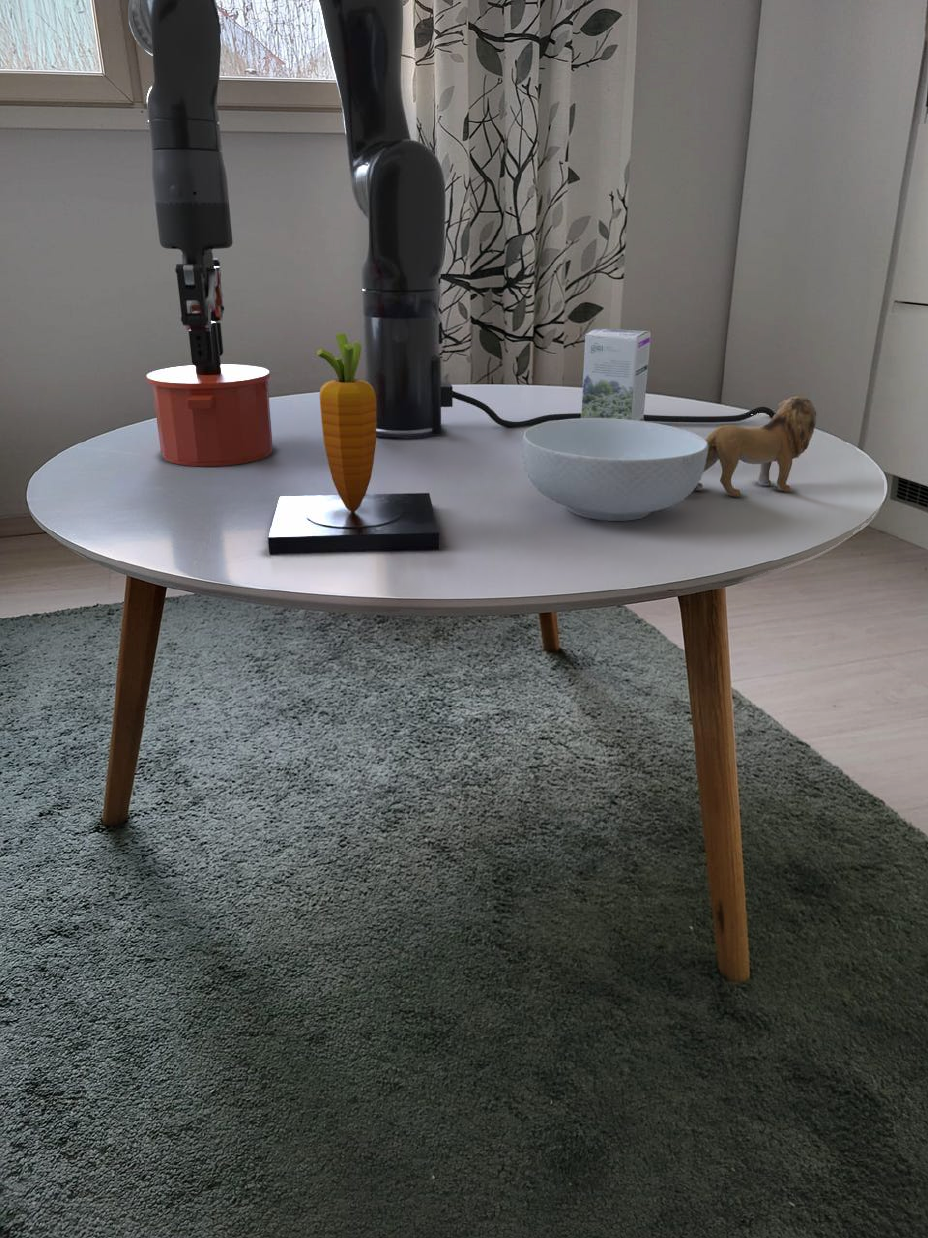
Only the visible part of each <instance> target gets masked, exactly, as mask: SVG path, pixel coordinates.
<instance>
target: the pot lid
mask: <svg viewBox="0 0 928 1238" xmlns="http://www.w3.org/2000/svg"><path fill="white" fill-rule="evenodd" d="M211 323H212V326H211V339H212V349H213V358H214V363H213V364H212V365H211V366H201V367H197V366H194V365H193V364H192V365H183V366H175V367H174V366H173V367H167V368H162V369H157V370H153V371H152V372H149V373H147V374H146V382H147V383H148V384H149V385H155V386H159V387H166V388H178V389H214V388H229V387H238V386H246V385H251V384H256V383H260V382H263V381H266V380H268V381H269V379H270V378H271V373H270V370H268V369H267V368H265V367H261V366H256V365H247V364H227V363H226V364H223V363H221V356H220V351H219V341H218V331H217V322H215V321H211Z"/></svg>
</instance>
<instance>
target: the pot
mask: <svg viewBox="0 0 928 1238" xmlns="http://www.w3.org/2000/svg"><path fill="white" fill-rule="evenodd" d="M268 381H269V379H268V380H266V381H263V382H260V383H256V384H251V385H246V386H238V387H229V388H214V389H178V388H166V387H159V386H155V385H152V394H153V401H154V410H155V418H156V425H157V433H158V440H159V448H160V453H161V456H162V459H163V460H164V461H166V462H168V463H172V464H175V465H180V466H188V467H224V466H233V465H241V464H247V463H253V462H256V461H259V460H262V459H265V458H267V457H269V456H270V455H271V454H272V453H273V434H272V433H273V431H272V420H271V408H270V407H271V406H270V394H269V382H268Z"/></svg>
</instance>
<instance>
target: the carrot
mask: <svg viewBox="0 0 928 1238" xmlns="http://www.w3.org/2000/svg"><path fill="white" fill-rule="evenodd" d="M335 338H336V342H337V345H338V349H339V350H340V354H341V357H342V358H341V357H339V356H337V357H335V356H334V355H333V354H332V353H331V352H330V351H327V350H326V349H324V348H321V349H319V350H317V353H316V354H317V356H318V357H320V358H322V359H323V360H324V361H325V360H326V362H327V363H328V364H329V365H330V366H331V367H332V368H333V370H334V372H335V373H336V375H337V379H334V380H329V381H326V382H324V383H323V384H322V386H321V387H320V388H319V409H320V417H321V418H320V420H321V429H322V430H321V431H322V436H323V437H322V438H323V446H324V449H325V454H326V459H327V464H328V467H329V471H330V475H331V479H332V482H333V484H334V487H335V490H336V492H337V495H339V496H340V498H341V499H342V501H343V503H344V505H345V507H346V508H347V509H348V510H349V511H350V512H352V513H354V512H355V511H356V510H357V509H358V508H359V507H360V505H361V502H362V500H363V498H364V496H365V494H367V491H368V488H369V485H370V482H371V479H372V474H373V468H374V463H375V455H376V447H377V435H376V394H375V391H374V389H373V387H372V386H371V385H370V384H369V383H368V382H366V380H364V379H359V378H355V375H356V372H357V369H358V366H359V362H360V359H361V352H362V344H360V343H359V341H354V342H353V346H352V345H351V344H350V342H349V340H348V337H347V335H346V333H337V334H336V335H335Z"/></svg>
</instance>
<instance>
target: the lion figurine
mask: <svg viewBox="0 0 928 1238" xmlns="http://www.w3.org/2000/svg"><path fill="white" fill-rule="evenodd" d="M817 415H818V413H817V411H816V408H815V406H814V404H813V402H812V401H811V400H810V399H809V398H806V397H805V396H790V397H789V398H788V399H784V400H783V401H781V402H780V403H779V404H778V410H777V412H776V413H775V415H774V416H773V417H772V418H771V419H770V420H769V422H768V423H766V424H765V425H763V426H761V427H743V426H738V425H733V424H728V425H727V424H725V425H722V426H719V427H717V428H716V429H714V430H713V431H712V432H711V433H710V434H709V435H708V436H707V438H706V439H705V440H706V441H707V443H708V454H707V458H706V464H705V467H704V471H703V473H705V472H706V471H707V470H709V469H710V468H712V466H714V465H715V464H717V462H718V461H719V463H720V467H721V476H720V479H719V482H720V483H721V485H722V487H723V488H724V490H725V492H726V494H727V495H728V496H729V497H734V498H735V497H740V496H741V495H742V492H741V491H740V489H738V488H735V487H733V484H732V477H733V475H734V473H735V471H736V469H737V467H738V464H739V462H740V461H741V462H743V463H745V464H750V465H760V468H759V469H760V470H759V475H758V479H757V480H758V481H757V484H758V485H759V486H764V487H767V486H768V487H769V486H771V484H772V481H771V480H770V470H771V466H772V463H773V462H776V463H777V465H778V476H777V480H776V485H777V489H778V491H780V492H784V493H789V492H791V490H792V488H791V486H790V485H789V484H787V481H788V479H789V475H790V472H791V469H792V466H793V460H794V459H798V458H799V457H800V456H801V455H802V454H803V453H805V451H806V450H807V449H808V448H809V445H810V442H811V439H812V437H813V435H814V432H815V428H816V425H817ZM703 487H704V486H703V483H701V482H699V483H698V485H697V486H696V488H695V489H694V490H693V491H692V492H691V493H692V494H693V493H695V492H696V491H702V490H703ZM691 493H690V494H691Z"/></svg>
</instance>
